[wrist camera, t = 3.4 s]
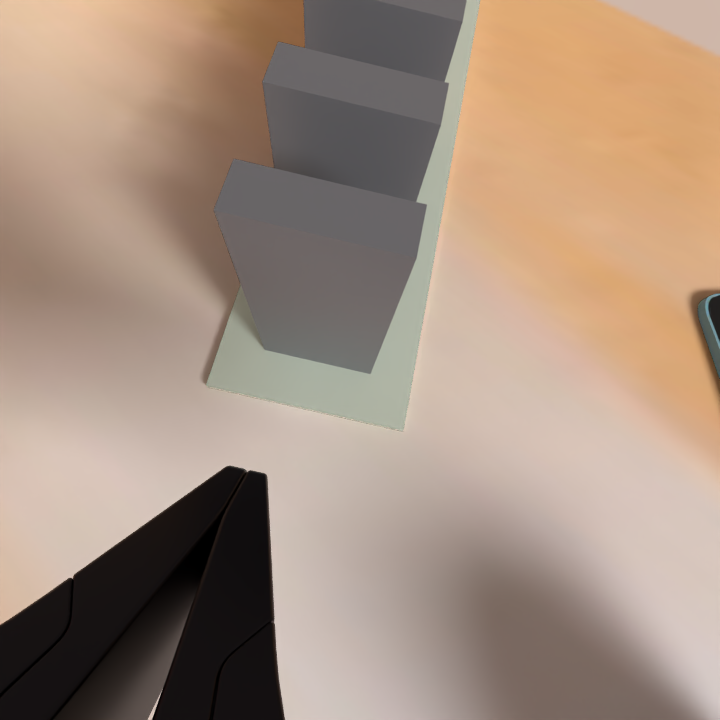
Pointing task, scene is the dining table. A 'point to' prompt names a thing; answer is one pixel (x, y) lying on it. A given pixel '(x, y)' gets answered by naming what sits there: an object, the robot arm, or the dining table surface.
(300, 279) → the domino
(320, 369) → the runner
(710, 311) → the smartphone
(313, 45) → the domino
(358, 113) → the domino
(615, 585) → the dining table surface
